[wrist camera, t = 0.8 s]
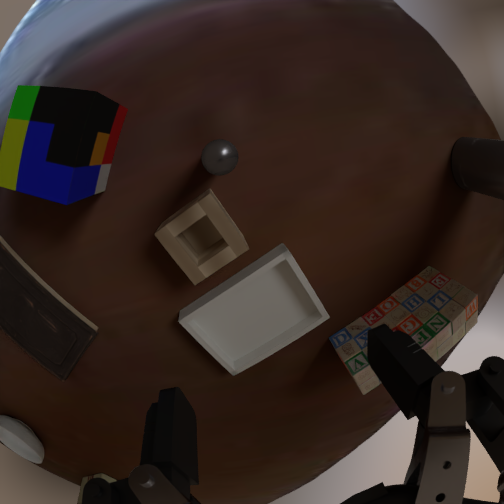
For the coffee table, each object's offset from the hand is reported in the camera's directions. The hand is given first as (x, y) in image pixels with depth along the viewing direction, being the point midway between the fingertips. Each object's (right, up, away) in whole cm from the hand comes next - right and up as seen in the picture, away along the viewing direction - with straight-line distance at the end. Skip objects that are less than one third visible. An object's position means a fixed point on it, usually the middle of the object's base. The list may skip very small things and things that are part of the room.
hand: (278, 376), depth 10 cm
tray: (-1, -3, +27) cm, 27 cm away
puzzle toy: (-22, +18, +16) cm, 33 cm away
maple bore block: (-7, +8, +22) cm, 25 cm away
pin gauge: (-5, +15, +20) cm, 26 cm away
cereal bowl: (-62, -41, +31) cm, 80 cm away
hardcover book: (-36, -4, +22) cm, 43 cm away
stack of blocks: (+21, -5, +31) cm, 38 cm away
